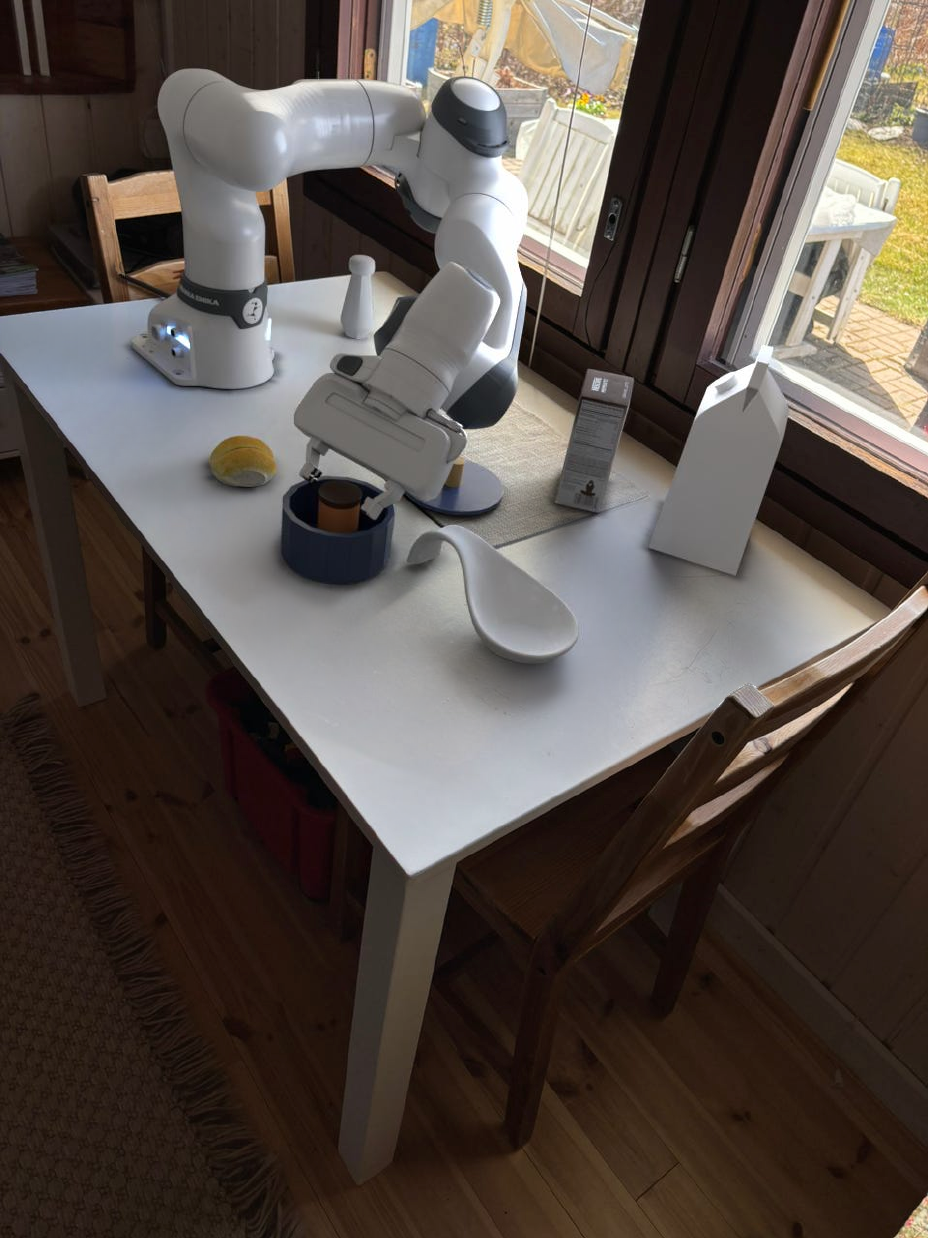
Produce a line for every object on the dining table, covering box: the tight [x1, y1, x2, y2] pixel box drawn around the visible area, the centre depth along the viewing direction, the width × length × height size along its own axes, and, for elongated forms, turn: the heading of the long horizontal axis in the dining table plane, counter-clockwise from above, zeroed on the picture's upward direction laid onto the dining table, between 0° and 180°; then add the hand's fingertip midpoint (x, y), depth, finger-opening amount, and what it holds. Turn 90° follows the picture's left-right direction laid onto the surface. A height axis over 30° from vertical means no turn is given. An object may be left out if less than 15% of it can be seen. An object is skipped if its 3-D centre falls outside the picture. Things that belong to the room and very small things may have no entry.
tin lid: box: [404, 455, 504, 516], centre depth 125 cm, size 14×14×5 cm
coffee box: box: [554, 368, 635, 514], centre depth 126 cm, size 9×6×16 cm
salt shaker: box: [340, 254, 376, 340], centre depth 158 cm, size 6×6×13 cm
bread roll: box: [208, 435, 278, 488], centre depth 122 cm, size 8×9×4 cm
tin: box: [280, 475, 396, 586], centre depth 110 cm, size 13×13×7 cm
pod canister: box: [317, 481, 362, 533], centre depth 109 cm, size 5×5×8 cm
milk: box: [647, 344, 790, 576], centre depth 118 cm, size 12×12×26 cm
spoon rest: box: [406, 524, 580, 664], centre depth 105 cm, size 24×12×7 cm, turn 40°
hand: (336, 497), depth 107 cm, fingers open, 8 cm apart
